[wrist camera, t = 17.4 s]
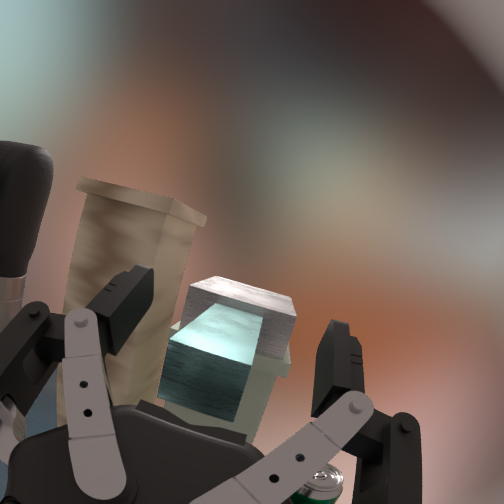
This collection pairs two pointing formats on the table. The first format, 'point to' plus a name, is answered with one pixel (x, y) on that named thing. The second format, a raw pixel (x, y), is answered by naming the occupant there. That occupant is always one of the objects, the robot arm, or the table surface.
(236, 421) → the low stand
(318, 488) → the soda can
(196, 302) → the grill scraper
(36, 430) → the table surface
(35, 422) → the table surface
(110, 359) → the high stand
